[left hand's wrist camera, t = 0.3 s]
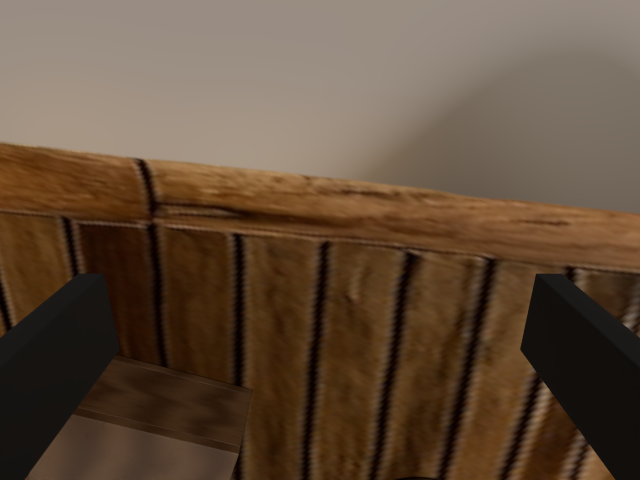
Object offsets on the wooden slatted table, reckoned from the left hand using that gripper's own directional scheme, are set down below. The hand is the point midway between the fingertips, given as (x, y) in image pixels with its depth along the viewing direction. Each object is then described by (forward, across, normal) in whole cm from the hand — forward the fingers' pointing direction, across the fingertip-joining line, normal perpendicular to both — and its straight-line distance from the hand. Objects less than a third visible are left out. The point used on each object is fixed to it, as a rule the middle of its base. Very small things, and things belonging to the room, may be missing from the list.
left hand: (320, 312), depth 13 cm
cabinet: (+28, +19, +30) cm, 45 cm away
